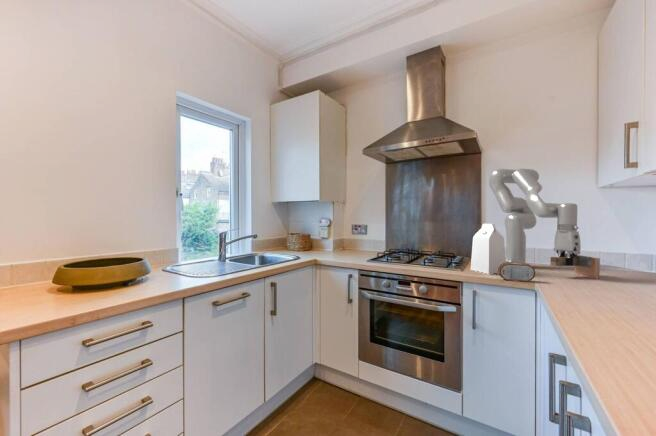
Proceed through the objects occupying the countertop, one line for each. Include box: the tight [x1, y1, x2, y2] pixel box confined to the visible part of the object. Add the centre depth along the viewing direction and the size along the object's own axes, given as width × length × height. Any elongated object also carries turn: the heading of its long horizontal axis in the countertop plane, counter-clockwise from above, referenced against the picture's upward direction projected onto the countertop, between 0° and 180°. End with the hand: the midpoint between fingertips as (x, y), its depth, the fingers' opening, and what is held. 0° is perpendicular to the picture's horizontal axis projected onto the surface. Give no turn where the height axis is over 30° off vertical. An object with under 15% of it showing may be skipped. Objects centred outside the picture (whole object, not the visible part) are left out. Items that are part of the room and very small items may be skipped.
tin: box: [497, 262, 536, 282], centre depth 133 cm, size 15×3×8 cm, turn 74°
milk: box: [470, 222, 506, 275], centre depth 153 cm, size 12×12×26 cm
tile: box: [573, 254, 601, 279], centre depth 142 cm, size 2×10×10 cm, turn 7°
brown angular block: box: [550, 253, 592, 268], centre depth 141 cm, size 14×12×5 cm
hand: (565, 264), depth 141 cm, fingers closed on brown angular block, 3 cm apart
